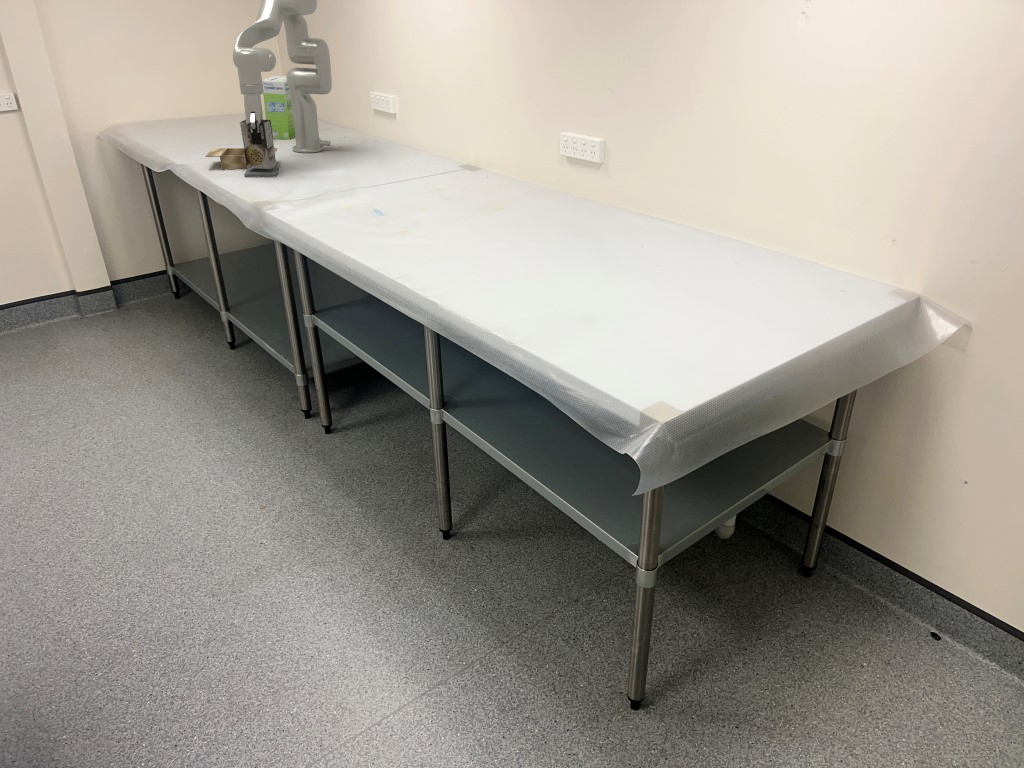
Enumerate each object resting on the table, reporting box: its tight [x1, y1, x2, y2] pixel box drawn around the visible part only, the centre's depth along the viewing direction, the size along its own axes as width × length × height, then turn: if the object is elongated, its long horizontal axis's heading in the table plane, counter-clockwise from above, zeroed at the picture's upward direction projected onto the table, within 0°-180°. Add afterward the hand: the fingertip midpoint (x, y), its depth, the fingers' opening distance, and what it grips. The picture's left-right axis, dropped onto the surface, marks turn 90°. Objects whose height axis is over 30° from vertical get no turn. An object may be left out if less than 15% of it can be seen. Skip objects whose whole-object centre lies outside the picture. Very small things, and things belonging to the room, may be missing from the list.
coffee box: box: [239, 119, 277, 169], centre depth 267 cm, size 9×6×16 cm
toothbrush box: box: [262, 75, 295, 140], centre depth 329 cm, size 18×10×24 cm, turn 178°
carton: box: [205, 147, 278, 170], centre depth 280 cm, size 24×14×5 cm, turn 100°
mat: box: [243, 166, 280, 178], centre depth 271 cm, size 11×12×1 cm
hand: (258, 141), depth 266 cm, fingers closed on coffee box, 7 cm apart
